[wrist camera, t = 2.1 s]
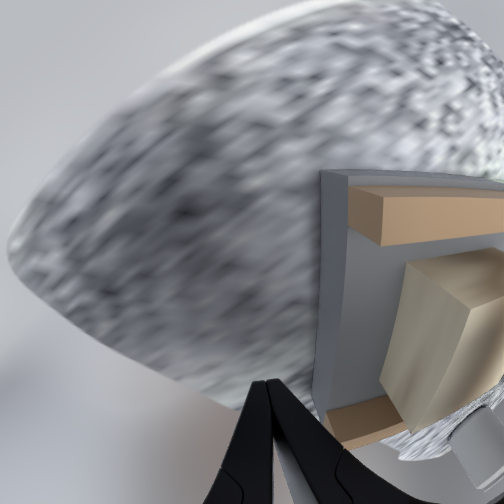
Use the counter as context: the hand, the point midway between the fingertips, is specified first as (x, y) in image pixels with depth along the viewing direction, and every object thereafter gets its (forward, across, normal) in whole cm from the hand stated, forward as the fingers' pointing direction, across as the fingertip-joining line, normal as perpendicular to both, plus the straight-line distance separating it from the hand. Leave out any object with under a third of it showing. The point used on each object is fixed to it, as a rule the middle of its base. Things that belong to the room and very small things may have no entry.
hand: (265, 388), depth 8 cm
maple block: (+2, -8, 0) cm, 9 cm away
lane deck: (+4, -16, 0) cm, 17 cm away
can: (+4, -28, +25) cm, 38 cm away
